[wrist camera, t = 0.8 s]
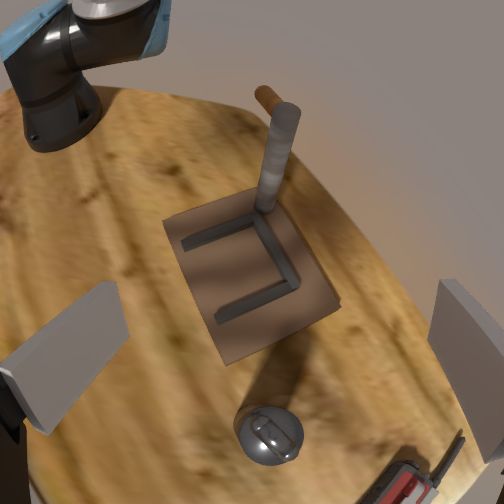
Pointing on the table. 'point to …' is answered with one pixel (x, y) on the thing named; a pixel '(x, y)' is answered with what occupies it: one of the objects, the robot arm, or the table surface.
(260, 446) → the grey metal canister
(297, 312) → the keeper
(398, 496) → the walkie-talkie
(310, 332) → the table surface
